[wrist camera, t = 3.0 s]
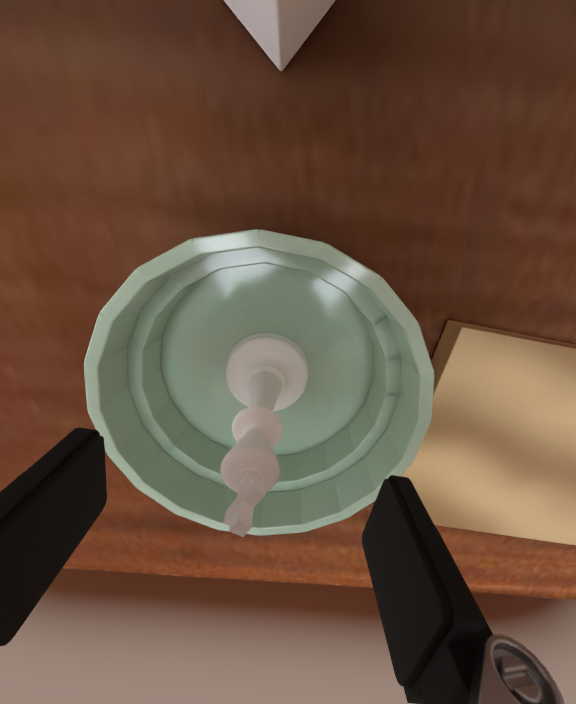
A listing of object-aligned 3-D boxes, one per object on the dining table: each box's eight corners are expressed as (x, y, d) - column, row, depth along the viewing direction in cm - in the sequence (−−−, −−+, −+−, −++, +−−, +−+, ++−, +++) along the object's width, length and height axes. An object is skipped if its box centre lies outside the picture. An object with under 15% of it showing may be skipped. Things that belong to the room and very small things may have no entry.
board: (447, 319, 16) (462, 327, 15) (758, 379, 17) (798, 391, 16) (374, 499, 21) (380, 517, 20) (619, 535, 22) (641, 555, 21)
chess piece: (211, 381, 17) (119, 544, 8) (254, 315, 16) (202, 424, 6) (279, 419, 18) (267, 605, 9) (325, 361, 17) (369, 513, 7)
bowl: (141, 206, 14) (68, 189, 9) (432, 265, 15) (496, 277, 10) (141, 448, 20) (95, 513, 15) (354, 481, 21) (373, 551, 16)
